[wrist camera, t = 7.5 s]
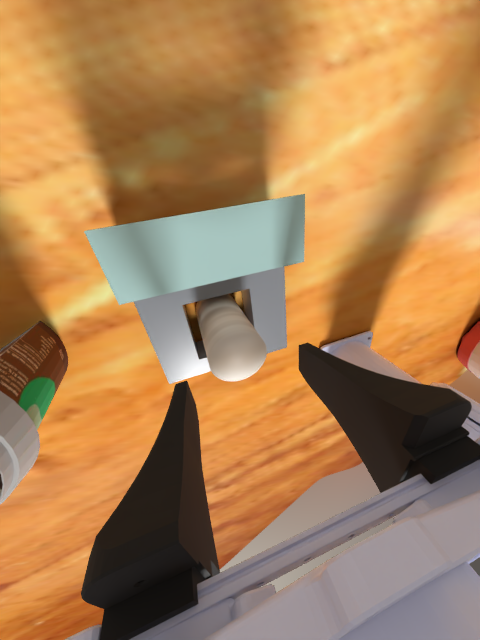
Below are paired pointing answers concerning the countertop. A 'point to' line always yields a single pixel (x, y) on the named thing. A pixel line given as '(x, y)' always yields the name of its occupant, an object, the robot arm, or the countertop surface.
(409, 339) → the countertop surface
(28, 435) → the food container
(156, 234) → the socket block
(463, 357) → the citrus juicer
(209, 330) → the peg
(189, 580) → the robot arm
